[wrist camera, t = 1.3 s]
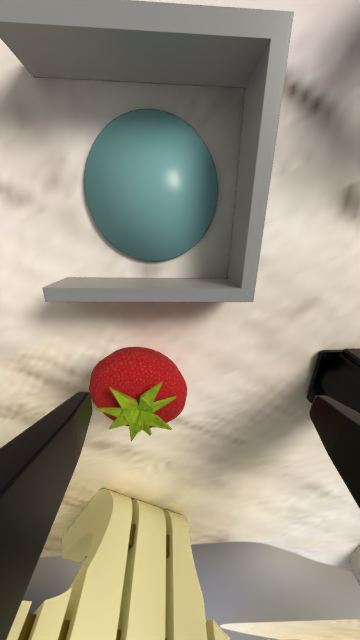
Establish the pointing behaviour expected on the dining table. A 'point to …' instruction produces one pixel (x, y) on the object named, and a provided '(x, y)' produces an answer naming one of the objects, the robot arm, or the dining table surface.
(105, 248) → the dining table surface
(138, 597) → the slatted curved stool
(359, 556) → the dish
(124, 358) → the strawberry
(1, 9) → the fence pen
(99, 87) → the dining table surface
